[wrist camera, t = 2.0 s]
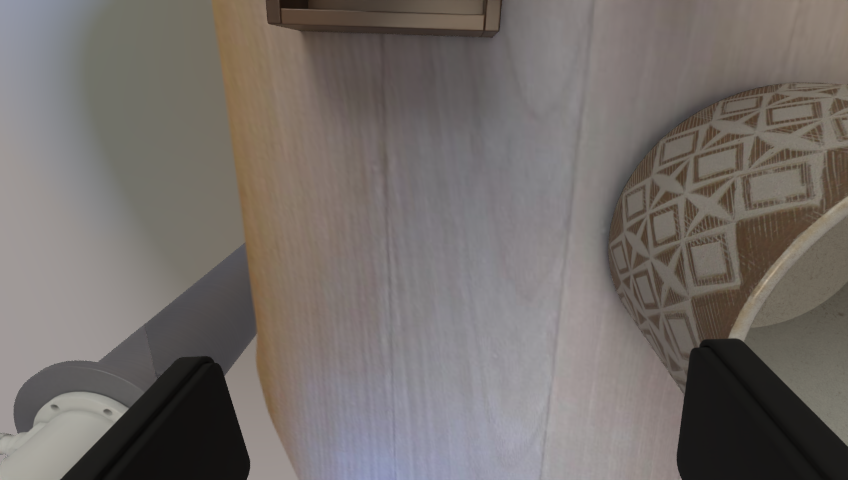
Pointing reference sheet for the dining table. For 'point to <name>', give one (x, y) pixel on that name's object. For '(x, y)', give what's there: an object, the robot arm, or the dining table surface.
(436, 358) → the dining table surface
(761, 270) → the planter
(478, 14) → the wooden box
